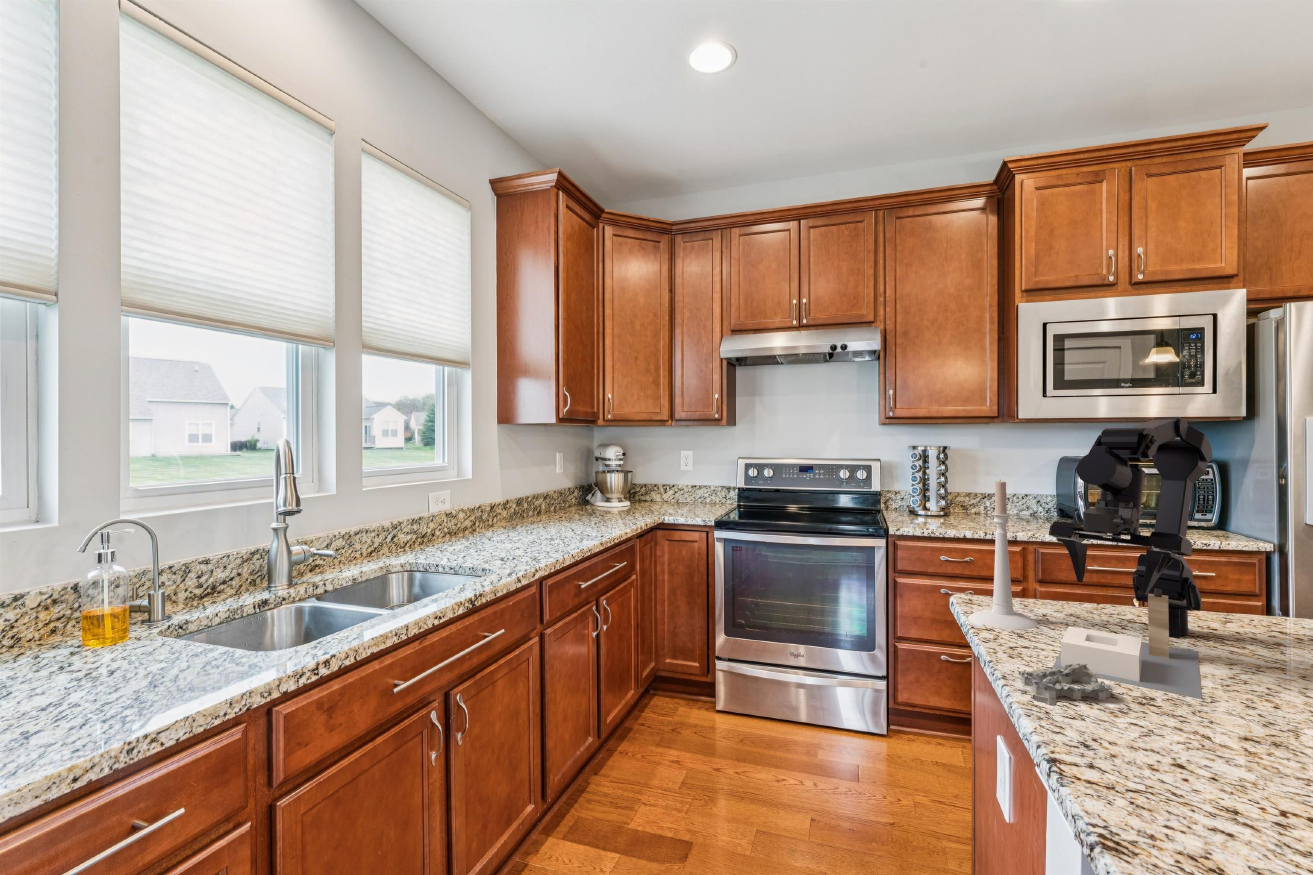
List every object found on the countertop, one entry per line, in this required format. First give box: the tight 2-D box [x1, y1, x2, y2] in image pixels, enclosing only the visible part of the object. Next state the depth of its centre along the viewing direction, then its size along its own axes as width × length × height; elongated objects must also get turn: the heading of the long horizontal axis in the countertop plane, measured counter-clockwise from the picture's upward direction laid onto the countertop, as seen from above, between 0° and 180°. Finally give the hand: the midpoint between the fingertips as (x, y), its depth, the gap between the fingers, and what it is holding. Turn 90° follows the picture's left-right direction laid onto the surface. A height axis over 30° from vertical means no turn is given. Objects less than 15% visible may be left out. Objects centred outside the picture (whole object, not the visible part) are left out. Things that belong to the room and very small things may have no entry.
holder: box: [1060, 626, 1143, 682], centre depth 97 cm, size 10×10×4 cm
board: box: [1051, 641, 1203, 700], centre depth 99 cm, size 24×18×1 cm
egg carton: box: [1016, 664, 1115, 707], centre depth 88 cm, size 11×8×4 cm
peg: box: [1147, 589, 1170, 658], centre depth 101 cm, size 3×3×11 cm
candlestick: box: [967, 480, 1039, 631], centre depth 121 cm, size 13×13×30 cm
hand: (1111, 587), depth 100 cm, fingers open, 9 cm apart
